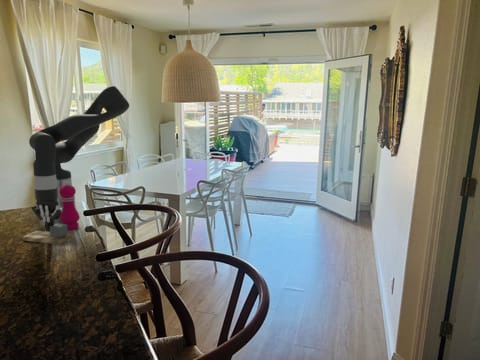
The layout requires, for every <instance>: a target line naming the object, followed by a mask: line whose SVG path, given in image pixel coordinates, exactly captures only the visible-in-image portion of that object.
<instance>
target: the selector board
mask: <svg viewBox="0 0 480 360" xmlns="http://www.w3.org/2000/svg"><path fill="white" fill-rule="evenodd" d="M71 239H73V233H68V234H67V235H65V236H63V237H61V238H56V237H51V236H50V231H46V230H34V231H33V232H30V233H28V234H26V235H24V236H22V240H23V241H24V242H25V241H27V242H33V243H34V242H36V243H43V244H53V245H62V244H64V243H65V242H67V241H69V240H71Z"/></svg>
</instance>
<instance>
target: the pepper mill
mask: <svg viewBox="0 0 480 360" xmlns="http://www.w3.org/2000/svg"><path fill="white" fill-rule="evenodd" d="M76 191H77V190H76V188H75V187H74V186H73V185H72V186H71V185H69V182H65V186H62V187H61V188H60V191H59V193H60V195H61V196H62V198H61V199H62V201H63V208H64V211H63V212H62V214H61V216H60V217H59V218H60V219H59V220H60V222H61V223H62V224H67V230H68V231H73V230H77V229H79V226H80V225H79V224H80V223H79V222H78V221H79V220H80V214H79V212H78V210H77V209H76V208H75V207H76V205H75V206H74V200H75V201H76V198H75V197H76V195H75V194H76ZM74 195H75V196H74Z"/></svg>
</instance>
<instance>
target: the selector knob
mask: <svg viewBox="0 0 480 360" xmlns="http://www.w3.org/2000/svg"><path fill="white" fill-rule="evenodd" d="M49 232H50V236H51V237H56V238H61V237H63V236H65V235H67V234H69V233H68V232H69V230H67V224H63V223H62V222H61V223H60V222H59V223H55V224H53V226H50V231H49Z"/></svg>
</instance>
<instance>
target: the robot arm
mask: <svg viewBox="0 0 480 360" xmlns="http://www.w3.org/2000/svg"><path fill="white" fill-rule="evenodd" d="M129 108H130V103H129V102H128V100H127V98H126V97H124V95H123V93H122V92H121V91H120V90H119V88H118V87H117V86H115V85H110V86H107V87H106V88H104V89H103V90H102V91H101V92H100V93H99V94H98V95H97V96H96V98H95V99H94V101H93V102H92V103H91V104H90V106H88V108H87V109H86V111H84V112H83V114H81V113H79V114H73V115H70V116H68V117H66V118H64V119H62V120H60V121H58V122H57V123H55V124H53V125H51V126H48V127H45V128H42V129H40V130H38V131H36V132H35V133H33V134H32V135H31V136H30V138H29V140H28V144H29V146H30V147H31V149H33V150H34V161H33V164H32V165H33V167H32V169H33V188H34V189H33V190H34V199H35V200H36V203H35V205H33V206H31V207H30V208H31V210H32V211H33V213H34V214H35V216H36V217H37V218H38V220H39V221H42V222H43V223H44V224H43V226H44V231H46V232H50V226H53V225H54V221H56V220H57V221H58V220H59V218H60V216H61V214H62V212H63V211H64V208H63V201H62V199H61V198H62V196H61V195H60V193H59V191H60V188H61V187H62V186H65V182H69V185H71V186H73V182H72V172H71V171H70V170H67V169H64V168H63V167H62V166H61V165H62V164H66V163H69V162H71V160H73V158H74V157H75V156H76V155H77V154H78V152H79V151H80V150H81V148H82V147H84V146H85V145H86V143H87V142H89V141H90V140H91V139H92V138H93V137H94V136H95V135H96V134H97V133H98V132H99V129H100V125H101V124H103V123H105V122H108V121H111V120H113V119H116V118H117V117H119V116H121V115H123V114H124V113H125V112H127V110H129ZM103 109H104V110H105V112H102V111H103ZM63 141H64V142H63ZM60 142H61V143H60ZM74 196H75V197H76V195H74ZM74 206H75V208H76V199H75V200H74Z"/></svg>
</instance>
